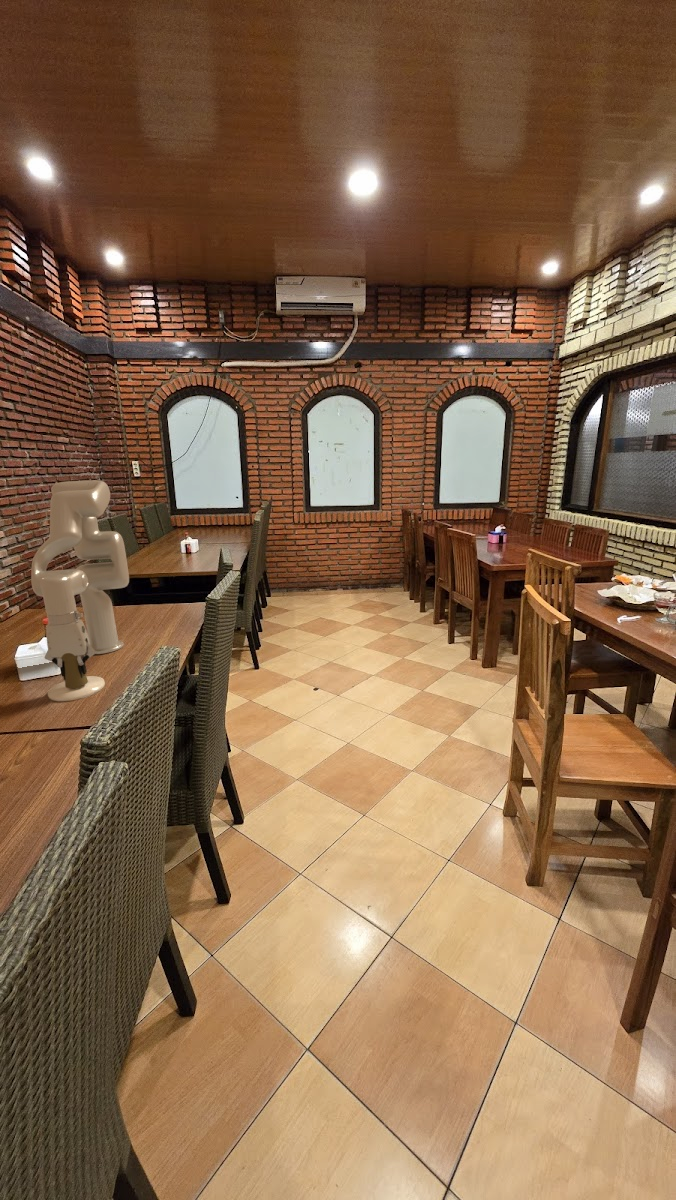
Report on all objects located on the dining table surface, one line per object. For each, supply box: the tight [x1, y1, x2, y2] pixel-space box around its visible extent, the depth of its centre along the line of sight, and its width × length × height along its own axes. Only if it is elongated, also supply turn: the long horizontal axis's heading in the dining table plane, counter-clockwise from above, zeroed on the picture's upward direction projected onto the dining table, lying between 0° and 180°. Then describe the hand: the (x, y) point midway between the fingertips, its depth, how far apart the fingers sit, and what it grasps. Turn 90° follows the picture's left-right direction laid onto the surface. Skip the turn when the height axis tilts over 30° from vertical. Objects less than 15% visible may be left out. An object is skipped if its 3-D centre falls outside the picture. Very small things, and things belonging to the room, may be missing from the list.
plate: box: [47, 675, 106, 702], centre depth 142 cm, size 15×15×1 cm
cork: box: [61, 653, 88, 688], centre depth 141 cm, size 6×6×11 cm
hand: (74, 676), depth 142 cm, fingers closed on cork, 3 cm apart
